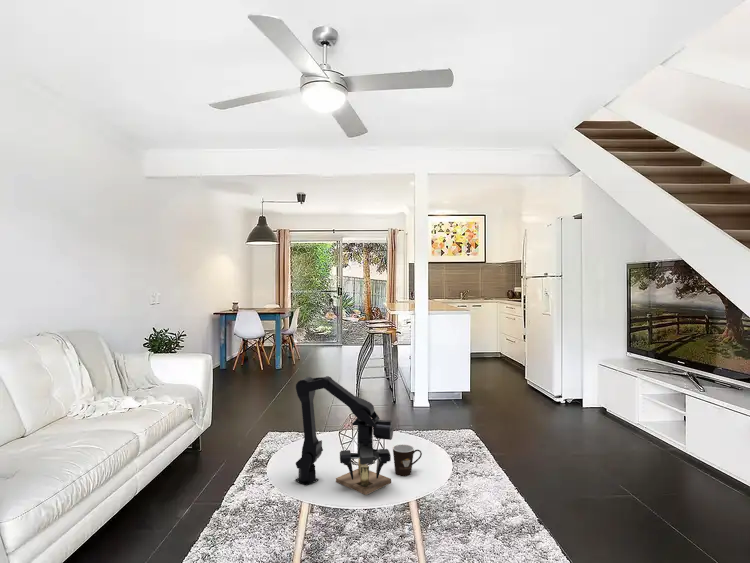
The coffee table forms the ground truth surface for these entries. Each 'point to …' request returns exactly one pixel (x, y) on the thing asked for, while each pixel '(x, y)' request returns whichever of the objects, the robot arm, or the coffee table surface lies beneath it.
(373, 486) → the pin board
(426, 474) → the coffee table surface
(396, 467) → the coffee mug
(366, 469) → the brass pin
